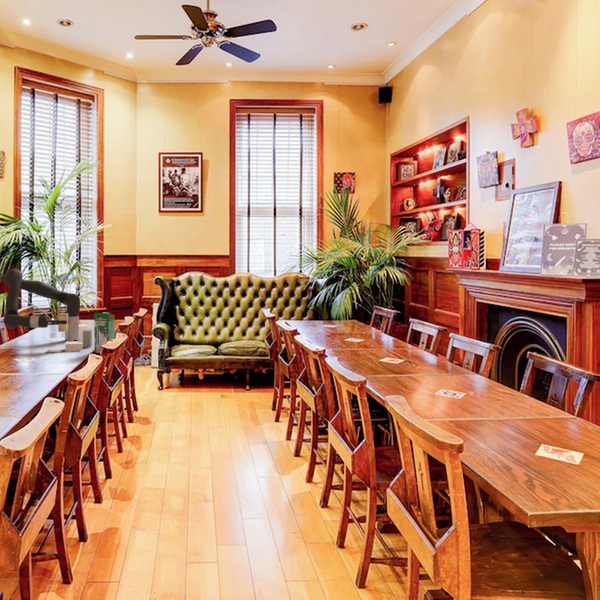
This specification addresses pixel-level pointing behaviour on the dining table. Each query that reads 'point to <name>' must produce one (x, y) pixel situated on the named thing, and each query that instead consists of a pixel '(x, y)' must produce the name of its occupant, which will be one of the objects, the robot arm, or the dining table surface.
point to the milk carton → (103, 329)
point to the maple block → (63, 326)
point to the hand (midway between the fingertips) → (67, 321)
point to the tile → (55, 350)
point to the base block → (74, 345)
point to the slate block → (87, 338)
